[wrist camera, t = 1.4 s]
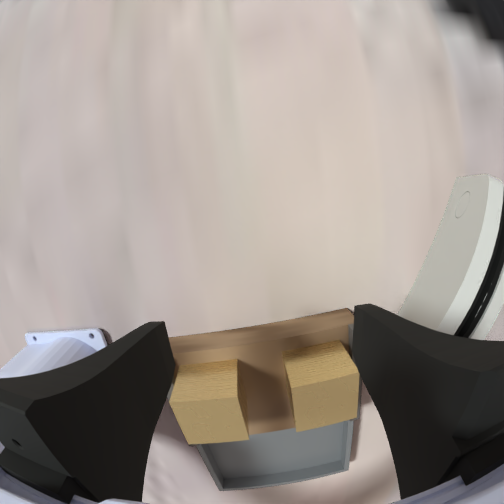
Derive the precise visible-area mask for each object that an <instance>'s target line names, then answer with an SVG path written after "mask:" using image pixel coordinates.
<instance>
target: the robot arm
mask: <svg viewBox="0 0 504 504" xmlns="http://www.w3.org/2000/svg"><path fill="white" fill-rule="evenodd" d="M91 333H92V334H93V335H94V337H93V336H92V335H91ZM36 338H37V339H36ZM25 339H26V341H27V344H28V345H27V346H25V347H24V348H23V349H22V350H21V351H20V352H19V353H18V354H16V355H15V356H14V357H13V358H12V359H11V360H10V361H9V362H8V363H6V364H5V365H4V366H3V367H2V368H1V369H0V504H148V503H143V502H142V493H143V485H144V476H145V470H146V464H147V459H148V453H149V449H150V444H151V440H152V436H153V433H154V429H155V426H156V424H157V421H158V419H159V416H160V413H161V411H162V408H163V406H164V403H165V400H166V398H167V395H168V392H169V390H170V387H171V384H172V380H173V375H174V370H175V365H176V364H175V361H174V357H173V353H172V350H171V346H170V342H169V338H168V334H167V330H166V326H165V322H164V321H162V322H148V323H146V324H144V325H142V326H140V327H138V328H137V329H135V330H133V331H132V332H130V333H128V334H127V335H125V336H123V337H122V338H120V339H118V340H117V341H115V342H113V343H112V344H110V345H107V342H106V340H105V337H104V334H103V332H102V331H101V330H100V329H98V328H94V329H81V330H66V331H49V332H28V333H26V334H25ZM352 353H353V357H354V360H355V363H356V366H357V369H358V372H359V374H360V376H361V378H362V380H363V382H364V384H365V386H366V388H367V390H368V392H369V394H370V396H371V398H372V400H373V402H374V404H375V406H376V408H377V410H378V412H379V415H380V417H381V419H382V422H383V425H384V428H385V431H386V434H387V438H388V441H389V445H390V448H391V452H392V456H393V460H394V464H395V469H396V473H397V478H398V483H399V490H400V496H401V500H399V501H396V502H393V503H390V504H504V341H487V340H477V339H471V338H465V337H459V336H454V335H450V334H447V333H443V332H439V331H436V330H433V329H430V328H427V327H425V326H422V325H419V324H417V323H414V322H412V321H409V320H407V319H405V318H402V317H400V316H398V315H396V314H394V313H391V312H389V311H387V310H385V309H383V308H380V307H378V306H375V305H372V304H364V305H357V306H355V307H354V326H353V341H352Z"/></svg>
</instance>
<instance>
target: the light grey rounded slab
mask: <svg viewBox="0 0 504 504" xmlns="http://www.w3.org/2000/svg"><path fill="white" fill-rule="evenodd" d="M503 303H504V186H503V182H502V180H500V179H498V178H496V177H493V176H491V175H488V174H479V175H472V176H465V177H457V178H456V180H455V183H454V187H453V190H452V193H451V196H450V199H449V201H448V204H447V207H446V210H445V213H444V215H443V218H442V220H441V223H440V226H439V228H438V231H437V233H436V236H435V238H434V240H433V243H432V245H431V248H430V250H429V252H428V254H427V257H426V259H425V261H424V263H423V266H422V268H421V270H420V272H419V274H418V276H417V278H416V280H415V282H414V284H413V286H412V288H411V290H410V292H409V294H408V296H407V298H406V300H405V302H404V304H403V306H402V308H401V309H400V311H399V313H398V316H400V317H402V318H405V319H407V320H409V321H412V322H414V323H417V324H419V325H422V326H425V327H427V328H430V329H433V330H436V331H439V332H443V333H447V334H450V335H454V336H459V337H465V338H471V339H477V340H484V338H485V337H486V335H487V334H488V332H489V330H490V329H491V327H492V325H493V323H494V322H495V320H496V318H497V316H498V314H499V312H500V310H501V308H502V305H503Z"/></svg>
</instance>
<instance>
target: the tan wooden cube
mask: <svg viewBox="0 0 504 504" xmlns="http://www.w3.org/2000/svg"><path fill="white" fill-rule="evenodd" d="M282 357H283V365H284V372H285V379H286V386H287V394H288V398H289V403H290V407H291V411H292V415H293V420H294V424H295V428H296V432H300V431H305V430H310V429H315V428H319V427H323V426H327V425H331V424H335V423H339V422H343V421H347V420H350V419H354V418H357V408H358V393H359V372H358V369H357V367H356V366H355V364H354V362H353V361H352V359H351V358H350V356H349V354H348V353H347V351H346V350H345V348H344V346H343V345H342V343H341V342H340V340H335V341H330V342H326V343H321V344H317V345H312V346H307V347H302V348H297V349H292V350H287V351H282Z"/></svg>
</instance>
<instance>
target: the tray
mask: <svg viewBox="0 0 504 504" xmlns="http://www.w3.org/2000/svg"><path fill="white" fill-rule="evenodd" d="M353 422H354V421H350V420H347V421H343V422H339V423H335V424H331V425H327V426H323V427H319V428H315V429H310V430H305V431H300V432H296V428H291V429H285V430H280V431H274V432H267V433H260V434H253V435H249V440H243V441H233V442H221V443H207V444H199V446H197V449H198V451H199V453H200V455H201V457H202V459H203V461H204V463H205V465H206V466H207V468H208V470H209V472H210V474H211V476H212V478H213V480H214V482H215V483H216V485H217V487H218V489H219V491H229V490H243V489H254V488H263V487H270V486H277V485H284V484H290V483H296V482H301V481H306V480H311V479H315V478H320V477H324V476H328V475H332V474H336V473H340V472H344V471H347V470H348V469H349V461H350V453H351V443H352V433H353Z"/></svg>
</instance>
